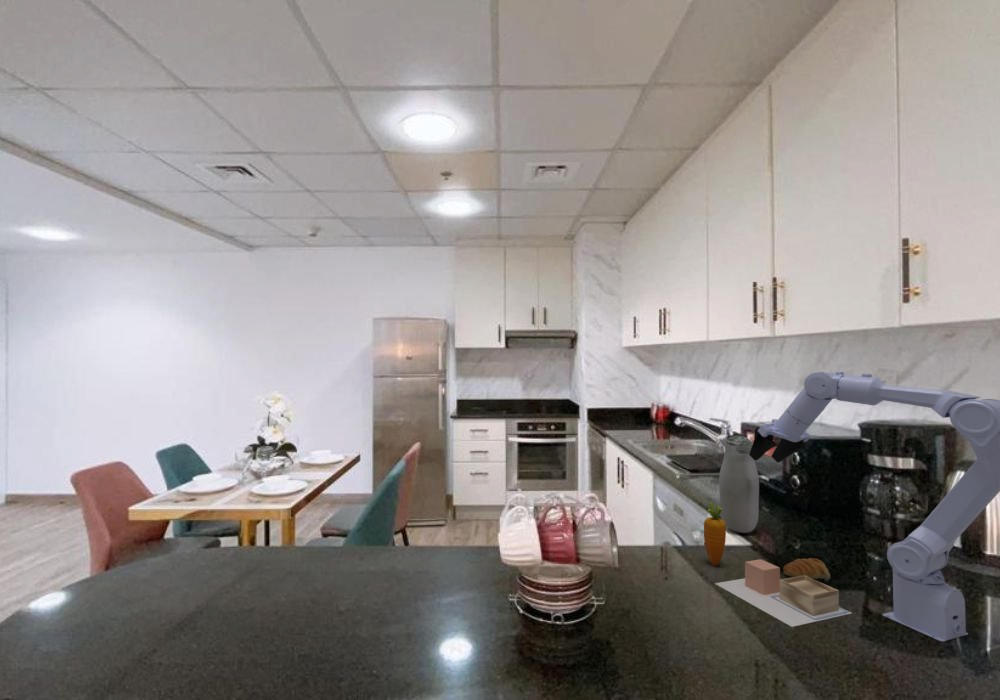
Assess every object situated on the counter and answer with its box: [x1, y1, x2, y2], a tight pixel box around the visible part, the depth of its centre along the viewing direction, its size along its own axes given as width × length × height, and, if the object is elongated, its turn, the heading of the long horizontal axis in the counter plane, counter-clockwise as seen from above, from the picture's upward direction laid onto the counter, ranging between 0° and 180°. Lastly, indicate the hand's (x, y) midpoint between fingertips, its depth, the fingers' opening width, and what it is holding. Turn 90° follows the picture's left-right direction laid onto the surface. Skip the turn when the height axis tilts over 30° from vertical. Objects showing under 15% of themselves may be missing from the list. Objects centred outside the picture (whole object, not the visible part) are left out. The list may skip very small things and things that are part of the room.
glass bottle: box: [718, 435, 760, 534], centre depth 138 cm, size 10×10×28 cm
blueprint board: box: [714, 577, 852, 628], centre depth 95 cm, size 18×16×1 cm
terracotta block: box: [744, 559, 781, 595], centre depth 99 cm, size 5×5×5 cm
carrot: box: [703, 501, 727, 567], centre depth 111 cm, size 5×5×15 cm
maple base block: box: [780, 576, 840, 616], centre depth 92 cm, size 7×7×4 cm
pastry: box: [782, 557, 831, 580], centre depth 107 cm, size 9×7×4 cm
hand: (763, 458), depth 113 cm, fingers open, 7 cm apart
